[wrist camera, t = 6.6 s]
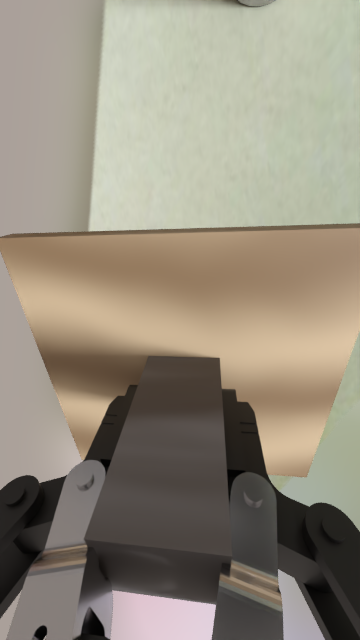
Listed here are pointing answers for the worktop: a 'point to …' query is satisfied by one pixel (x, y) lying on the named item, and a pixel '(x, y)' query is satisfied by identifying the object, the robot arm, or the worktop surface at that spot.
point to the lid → (188, 372)
